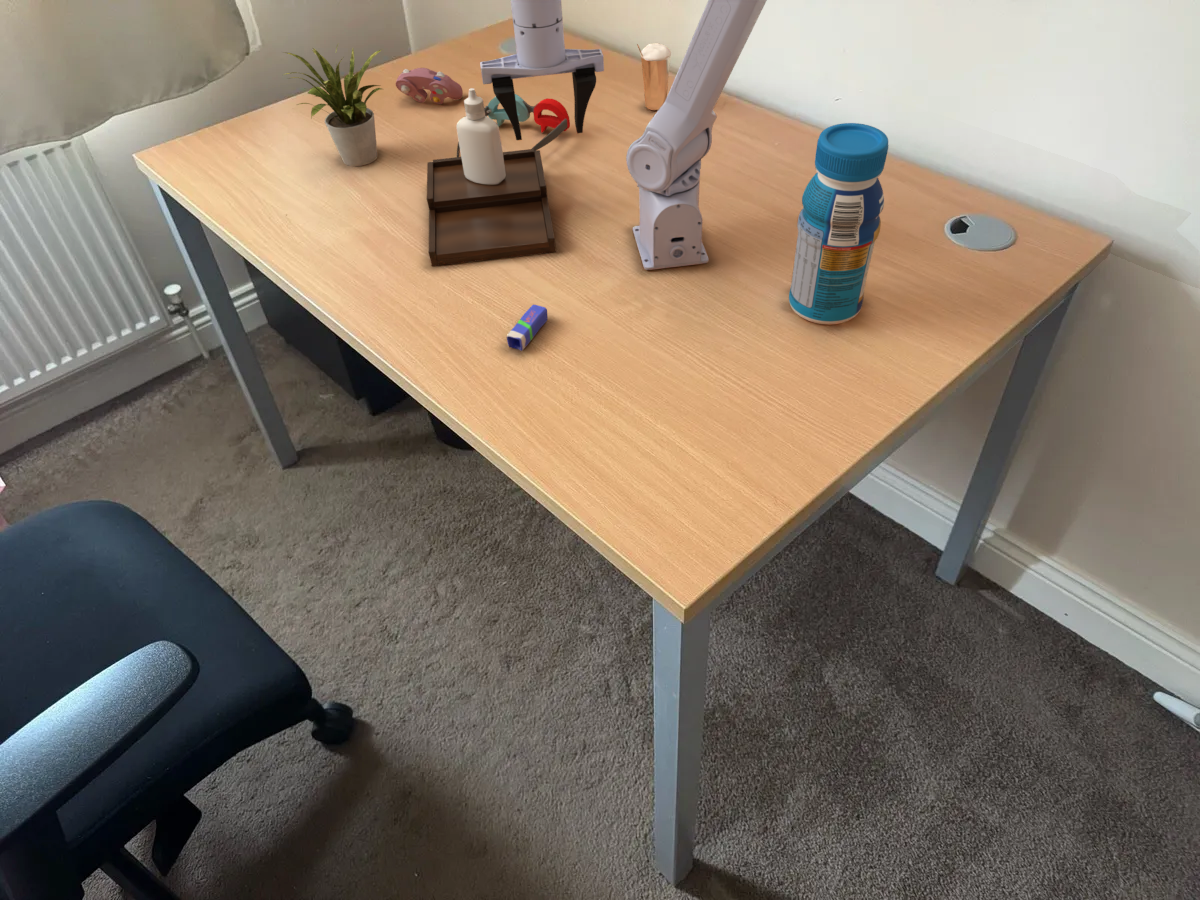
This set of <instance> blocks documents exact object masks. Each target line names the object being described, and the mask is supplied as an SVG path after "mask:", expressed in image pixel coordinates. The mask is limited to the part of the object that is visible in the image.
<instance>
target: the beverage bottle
mask: <svg viewBox="0 0 1200 900" xmlns="http://www.w3.org/2000/svg"><path fill="white" fill-rule="evenodd" d="M816 142H817V143H816V148H815V149H816V150H815V158H814V167H815V168H814V169H815V171H816V172H815V174H814V175H813V176H812V178H811V179H810V180H809V181H808V183H807V185H806V186H805V188H804V191H803V193H802V197H801V205H802V207H803V208H802V209H801V210H800V211H799V214H798V217H797V218H798V219H797V225H796V227H797V237H796V246H795V253H794V263H793V270H792V277H791V282H790V283H791V284H790V287H789V293H788V303H789V306H790V308H791V310H792V311H793V312H794V313H795V314H796V315H797V316H799V317H800V318H801V319H803V320H806V321H808V322H810V323H815V324H819V325H838V324H842V323H847V322H848V321H850V320H853V319H854V318H855V317H856V316H858V314H859V313H860V311H861V310H862V307H863V303H864V295H865V288H866V283H867V278H868V274H869V269H870V265H871V261H872V256H873V252H874V247H875V244H876V243H875V242H876V241H877V240H878V237H879V236H880V232H881V225H882V223H881V216H880V214H881V213H882V212H883V210H884V206H885V196H884V190H883V186H882V184H881V181H880V179H879V178H880V176H881V175H882V173H883V171H884V169H885V164H886V161H887V155H888V151H889V138H888V136H887V135H886V133H885V132H884V131H882V130H881V129H879V128H877V127H875V126H872V125H869V124H865V123H859V122H858V123H857V122H843V123H837V124H833V125H831V126H827V127H826V128H825V129H823V130H822V132H820V134H819V136H818V139H817V141H816Z"/></svg>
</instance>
